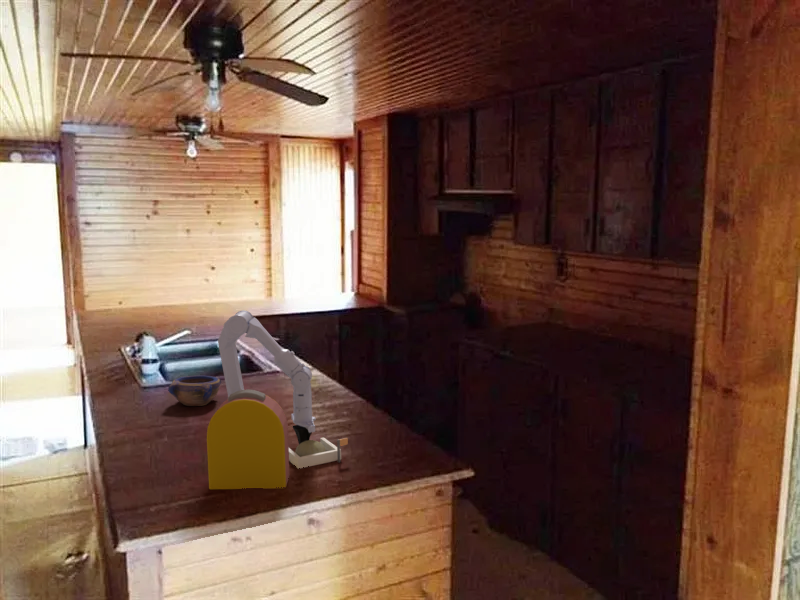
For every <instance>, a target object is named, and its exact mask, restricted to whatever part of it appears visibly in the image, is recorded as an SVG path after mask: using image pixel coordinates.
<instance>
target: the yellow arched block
mask: <svg viewBox="0 0 800 600" xmlns="http://www.w3.org/2000/svg"><path fill="white" fill-rule="evenodd" d="M206 431H207V432H206V449H207V451H206V453H207V471H208V473H207V474H208V489H209V490H246V488H263V489H284V488H283V487H285V488H287V485H288V482H289V479H290V461H289V448H290V446H289V425H288V418H287V416H286V414H285V411H284V409H283V408H282V407H281V405H280V404H279V403H278V401H276V400H275V399H273V398H272V397H271V396H269V395H266V393H264V392H261V391H259V390H254V389H248V388H247V389H244V390H240V391H237V392H235V393H232V394H231V395H230V396H229V397H228V396H227V399H226V400H224V401H223V402H222V403H221V404H220V406H219V408H217V410H216V411H215V413H214V414H213V415H212V417H211V418H210V420H209V423H208V425H207V430H206ZM288 478H289V479H288ZM276 487H277V488H276ZM278 487H279V488H278ZM281 487H282V488H281ZM242 488H243V489H242ZM244 488H245V489H244Z"/></svg>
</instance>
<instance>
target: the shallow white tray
mask: <svg viewBox="0 0 800 600" xmlns="http://www.w3.org/2000/svg"><path fill="white" fill-rule="evenodd" d="M348 441H349V439H348V437H344V438H340V439H337V441H336V445H337V446H336V445H335V444H333V443H332V442H330V440H328V439H327V438H325V437H320V441H319V442H320V443H322V444H323V445H324V447H325V451H326V452H321V453H317V454H312V455H307V456H302V457H300V456H298V455H297V454H296V453H295V450H293V449H292V448H290V447H289V463H291V464H292V465H293V466H294V465H295V466H296V467H295V466H294V467H295V468H297V469H298V470H300V469H304V468H309V467H312V466H317V465H322V464H327V463H331V462H335V461H337V463H341V460H342V449H341V447H342V446H346V445H348V443H349V442H348ZM308 466H309V467H308ZM303 467H304V468H303ZM299 468H300V469H299Z"/></svg>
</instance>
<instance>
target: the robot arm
mask: <svg viewBox="0 0 800 600" xmlns="http://www.w3.org/2000/svg"><path fill="white" fill-rule="evenodd" d="M245 334H246V335H245ZM243 335H245V336H244V337H245V338H250V339H251V338H252V339H255V340H256V341H258V342H259V343H260V344H261V345H262V346H263V347H264V348H265V349H266V351H268V352H269V353H270V354H271V355H273V357H274V360H273V362H274V363H275V365H276V366H277V367H278V368H279V369H280V370H281V371H282V372H283V373H284V374H285V375H286V376H287V377H288V378H290V379H291V380H290V383H291V385H292V388H293V392H292V402H293V403H292V404H293V407H292V408H293V413H290V414H291V415H290V416H291V417H290V418H291V420H292V422H293V424H294V425H292V429H293V431H294V433H295V435H296V438H297V442H298V445H299V444H301V443H302V442H304V441H308V440H311V435H312V433H315V432H316V425H315V423H314V422H315V421H316V417H315V416H313V398H312V397H313V396H312V395H313V394H312V393H313V392H312V383H311V380H313V379H312V378H313V373H312V370H311V368H310V367H309V366H306V364H305V363H302V362H301V361H300V360H299V359H298V358H297V357H296V356H295V354H296V353H295V352H294V351H293V350H291V351H290V349H287V348H282V347H281V345H280V344H279V343H278V342H277V341H276V340H275V339H274V337H272V335H271V334H270V333H269V332H268V331H267V329H266V328H265V327H264V326H263V325H262V323H261V322H260V321H259V319H257V318H256V317H254V315H253V314H252V313H251V312H249V311H247V310H244V309H242V310H238V311H237V312H236V313H235V314H234V315H232V316H230V317H229V318H228V319H227V320H226V321H225V322H224V324H223V328H222V330H221V332H220V334H219V337H218V339H217V344H218V349H219V355H220V359H221V365H222V370H223V378H224V382H225V387H226V393H227V398H228V397H229V396H230V395H231V394H232V393H235V392H237V391H240V390H245V387H244V382H243V376H242V371H241V366H240V360H239V355H238V347H237V344H236V343H237V341H238V340H239V339H240V338H241V337H242V336H243Z"/></svg>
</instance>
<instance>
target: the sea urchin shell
mask: <svg viewBox="0 0 800 600" xmlns="http://www.w3.org/2000/svg"><path fill="white" fill-rule="evenodd" d="M294 452H295V453H296V454H297V455H298V456H300V457H302V456H307V455H312V454H317V453H321V452H326V451H325V447H324V445H323V444H322V443H320V441H317V440H314V439H312V440H311V439H309V440H308V441H304V442H302V443H301V444H299V443H298V445H297V446H296V448H295V450H294Z"/></svg>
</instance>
